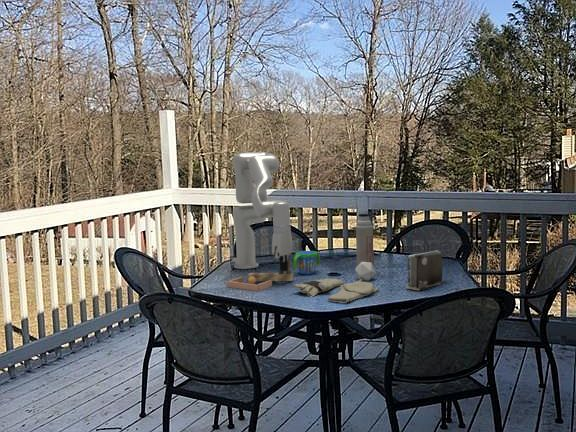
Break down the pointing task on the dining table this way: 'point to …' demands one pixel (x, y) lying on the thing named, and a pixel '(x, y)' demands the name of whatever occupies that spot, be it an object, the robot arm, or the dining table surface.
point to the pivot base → (281, 281)
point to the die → (365, 271)
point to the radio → (424, 270)
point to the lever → (274, 275)
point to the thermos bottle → (364, 240)
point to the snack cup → (306, 261)
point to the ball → (251, 280)
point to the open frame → (240, 285)
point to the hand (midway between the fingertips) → (284, 270)
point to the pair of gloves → (346, 290)
